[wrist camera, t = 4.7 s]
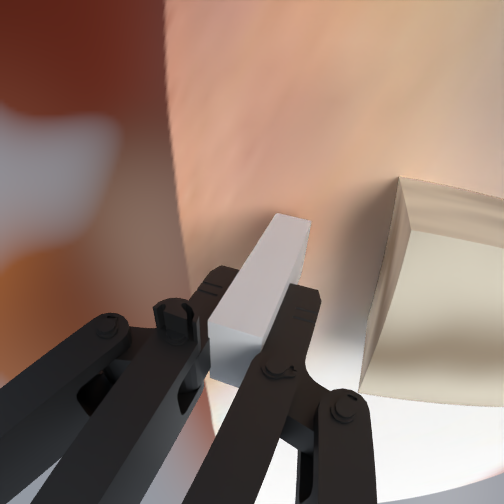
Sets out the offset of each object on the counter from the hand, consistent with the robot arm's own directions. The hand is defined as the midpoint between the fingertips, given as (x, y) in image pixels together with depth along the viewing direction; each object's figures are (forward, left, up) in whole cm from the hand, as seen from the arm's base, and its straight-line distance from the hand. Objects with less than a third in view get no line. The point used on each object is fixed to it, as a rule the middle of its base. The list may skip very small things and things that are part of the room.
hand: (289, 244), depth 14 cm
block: (0, +8, -2) cm, 8 cm away
